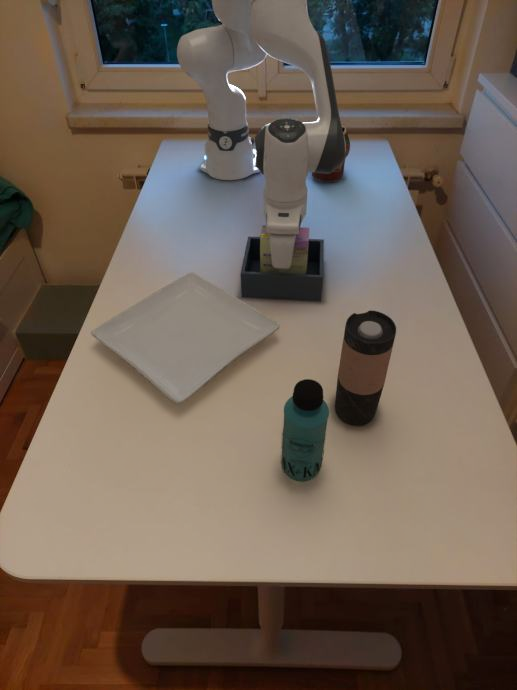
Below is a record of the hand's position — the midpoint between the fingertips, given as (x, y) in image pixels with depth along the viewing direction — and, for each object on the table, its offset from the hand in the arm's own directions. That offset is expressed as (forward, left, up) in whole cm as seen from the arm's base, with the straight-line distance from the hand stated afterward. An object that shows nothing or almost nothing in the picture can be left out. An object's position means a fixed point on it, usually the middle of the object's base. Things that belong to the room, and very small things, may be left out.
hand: (283, 261), depth 112 cm
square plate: (+22, -18, -5) cm, 29 cm away
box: (0, 0, -5) cm, 5 cm away
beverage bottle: (+50, +6, -5) cm, 51 cm away
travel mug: (+37, +15, -5) cm, 40 cm away
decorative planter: (-55, +10, -5) cm, 56 cm away
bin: (0, 0, -5) cm, 5 cm away
